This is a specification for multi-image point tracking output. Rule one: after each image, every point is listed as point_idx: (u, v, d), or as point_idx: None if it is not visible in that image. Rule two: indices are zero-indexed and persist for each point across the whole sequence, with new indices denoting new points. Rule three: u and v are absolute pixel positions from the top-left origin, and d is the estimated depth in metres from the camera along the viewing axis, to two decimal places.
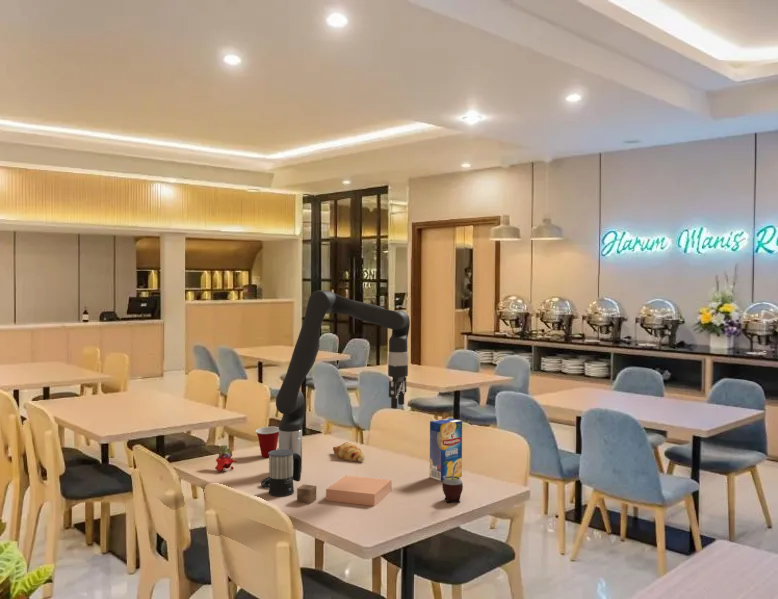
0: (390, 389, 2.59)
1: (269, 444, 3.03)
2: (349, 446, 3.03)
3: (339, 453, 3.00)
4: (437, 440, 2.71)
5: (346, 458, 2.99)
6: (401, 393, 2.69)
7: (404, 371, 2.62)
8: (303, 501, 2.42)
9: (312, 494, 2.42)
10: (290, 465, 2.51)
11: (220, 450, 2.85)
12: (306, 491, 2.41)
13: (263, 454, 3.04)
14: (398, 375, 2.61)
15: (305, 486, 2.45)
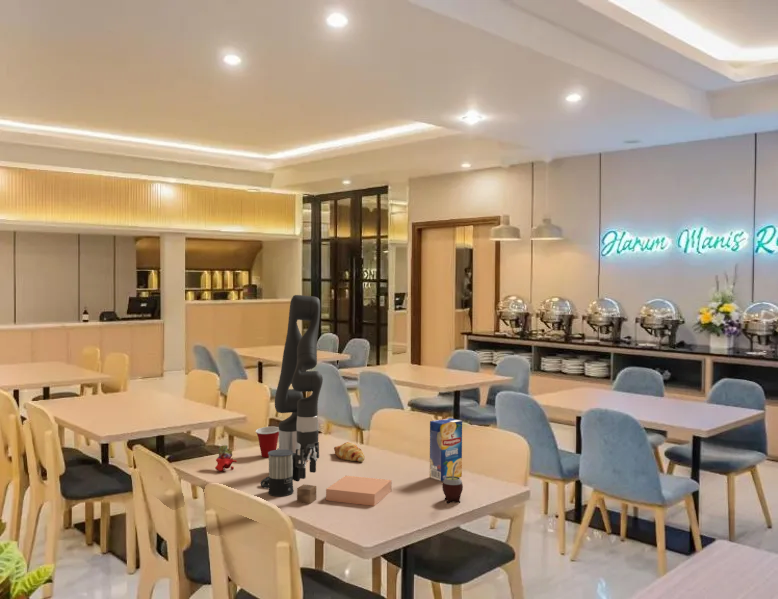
0: (297, 458, 2.37)
1: (269, 444, 3.03)
2: (349, 446, 3.03)
3: (339, 453, 3.01)
4: (437, 440, 2.71)
5: (346, 458, 2.99)
6: (312, 460, 2.48)
7: (312, 438, 2.41)
8: (303, 501, 2.42)
9: (312, 494, 2.42)
10: (290, 465, 2.51)
11: (220, 450, 2.85)
12: (306, 491, 2.41)
13: (263, 454, 3.04)
14: (306, 442, 2.40)
15: (305, 486, 2.45)
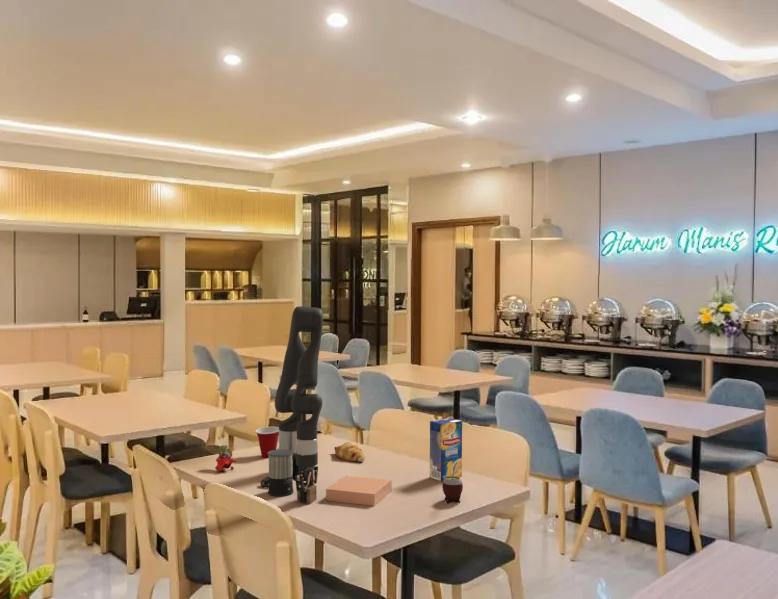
0: (297, 484, 2.38)
1: (269, 444, 3.03)
2: (350, 446, 3.03)
3: (340, 453, 3.01)
4: (437, 440, 2.71)
5: (346, 458, 2.99)
6: None
7: (312, 460, 2.41)
8: None
9: (312, 494, 2.42)
10: (289, 465, 2.51)
11: (220, 450, 2.85)
12: (306, 491, 2.41)
13: (263, 454, 3.04)
14: (306, 465, 2.40)
15: None
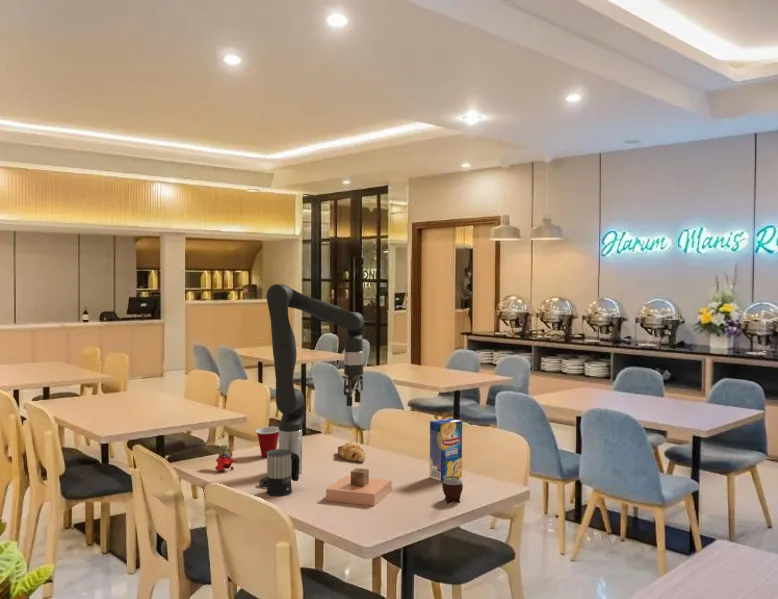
0: (345, 387, 2.70)
1: (269, 444, 3.03)
2: (351, 446, 3.03)
3: (341, 453, 3.01)
4: (437, 440, 2.71)
5: (347, 458, 3.00)
6: (357, 391, 2.80)
7: (358, 370, 2.73)
8: (357, 484, 2.48)
9: (365, 477, 2.49)
10: (288, 465, 2.52)
11: (220, 450, 2.85)
12: (360, 474, 2.48)
13: (263, 454, 3.04)
14: (353, 374, 2.73)
15: (358, 469, 2.51)
